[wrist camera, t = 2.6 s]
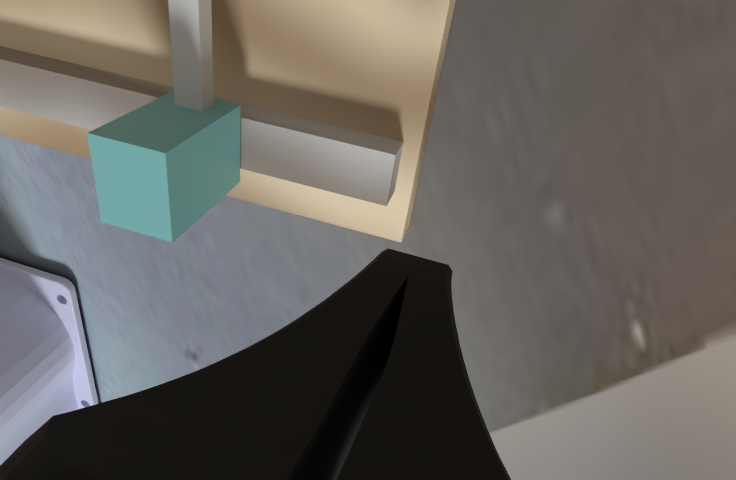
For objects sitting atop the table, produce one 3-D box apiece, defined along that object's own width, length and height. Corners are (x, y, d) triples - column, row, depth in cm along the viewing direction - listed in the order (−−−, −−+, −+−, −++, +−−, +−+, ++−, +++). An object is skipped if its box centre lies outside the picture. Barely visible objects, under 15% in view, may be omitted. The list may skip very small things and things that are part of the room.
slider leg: (254, 169, 17) (171, 242, 14) (196, 154, 18) (101, 221, 14) (259, -92, 13) (147, -92, 10) (186, -105, 14) (48, -109, 10)
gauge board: (409, 224, 18) (393, 259, 16) (2, 117, 21) (-50, 137, 19) (495, -191, 12) (484, -208, 10) (-92, -270, 15) (-181, -294, 13)
